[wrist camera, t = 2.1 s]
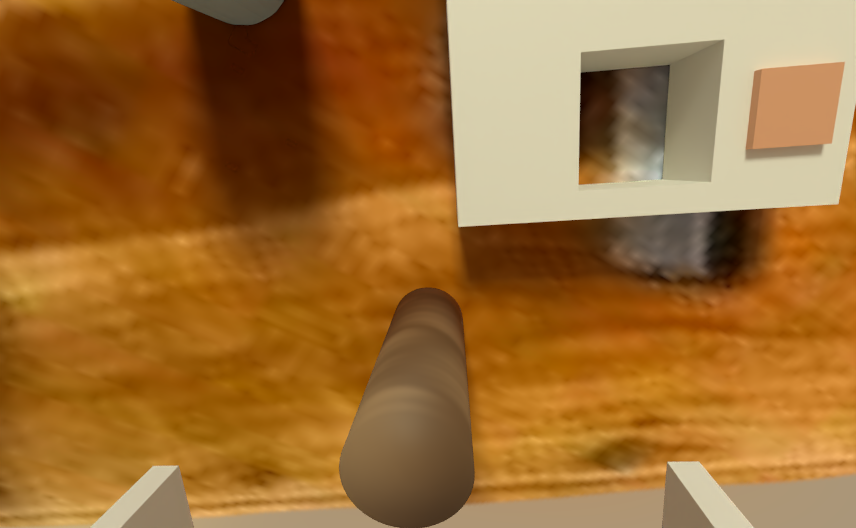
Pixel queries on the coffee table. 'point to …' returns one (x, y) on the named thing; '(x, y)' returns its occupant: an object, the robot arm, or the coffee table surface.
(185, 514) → the robot arm
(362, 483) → the dowel
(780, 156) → the socket board
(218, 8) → the cup
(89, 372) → the coffee table surface
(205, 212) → the coffee table surface
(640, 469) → the coffee table surface
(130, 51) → the coffee table surface
